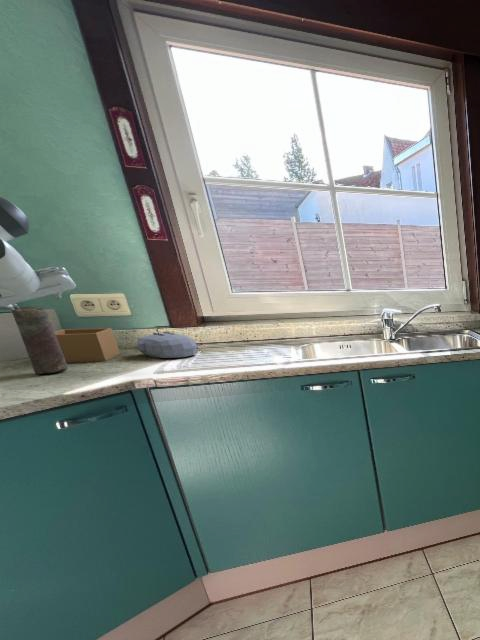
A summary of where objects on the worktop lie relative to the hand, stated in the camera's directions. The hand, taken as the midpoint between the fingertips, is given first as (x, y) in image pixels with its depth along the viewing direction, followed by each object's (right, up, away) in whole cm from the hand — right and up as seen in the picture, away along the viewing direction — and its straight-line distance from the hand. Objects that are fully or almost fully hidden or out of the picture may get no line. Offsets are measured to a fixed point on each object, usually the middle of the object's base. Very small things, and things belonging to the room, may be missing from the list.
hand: (36, 301), depth 141 cm
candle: (-11, -18, +14) cm, 26 cm away
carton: (-20, -10, +34) cm, 40 cm away
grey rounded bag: (+2, -8, +42) cm, 43 cm away
